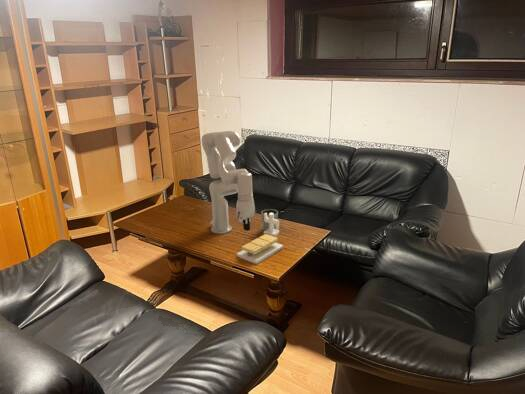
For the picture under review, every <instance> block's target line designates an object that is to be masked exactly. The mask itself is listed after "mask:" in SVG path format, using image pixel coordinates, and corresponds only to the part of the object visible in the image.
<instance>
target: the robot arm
mask: <svg viewBox="0 0 525 394" xmlns="http://www.w3.org/2000/svg"><path fill="white" fill-rule="evenodd" d="M240 144H241V138H240V135H239V134H238V133H237V131H232V130H231V131H229V130H227V131H216V132H213V131H212V132H209V133H208V132H207V133H205V134H203V135H202V136H201V146H202V148H203V150H204V153H205V155H206V161H207V167H208V173H209V176H210V178H212V179H219V180H214V181H212V182H210V184H209V187H208V188H209V192H210V193H209V194H210V197H211V199H210V200H211V209H212V219H211V221H210V222H209V224H210V225H212V227H211V229H210V231H211V232H212V233H214V234H218V235H220V234H221V235H222V234H227V233H229V232H231V231H232V229H233V228H232V226H231V225H230V221H229V204H228V200H227V199H226V198H225V196H229V195H235V194H237V200H236V205H235V207H236V208H235V217H236V219H238V223H242V224H243V231H246V232H247V231H251V222H252V218H253V217H254V216H255V215H256V206H255V205H256V204H255V200H254V195H253V194H254V192H253V176H252V173H251V172H249V171H248V170H247V169H246V168H239V169H236V165H235V162H233V161H234V160H235V159H236V157H237V152H236V150H235V147H236V148H237V147H239V146H240Z"/></svg>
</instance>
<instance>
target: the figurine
mask: <svg viewBox="0 0 525 394" xmlns="http://www.w3.org/2000/svg"><path fill="white" fill-rule="evenodd" d="M264 221H265V222H267V223H269V228H268V229H267V230H266V231H265V232H264V231H263V235H264V234H268V235H271V236H274V237H277V236H278V235H279V233H280V220H279V219H277V220H276V219H274V213H269V218H268V217H267V213H264ZM274 224H276V229H274Z"/></svg>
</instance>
